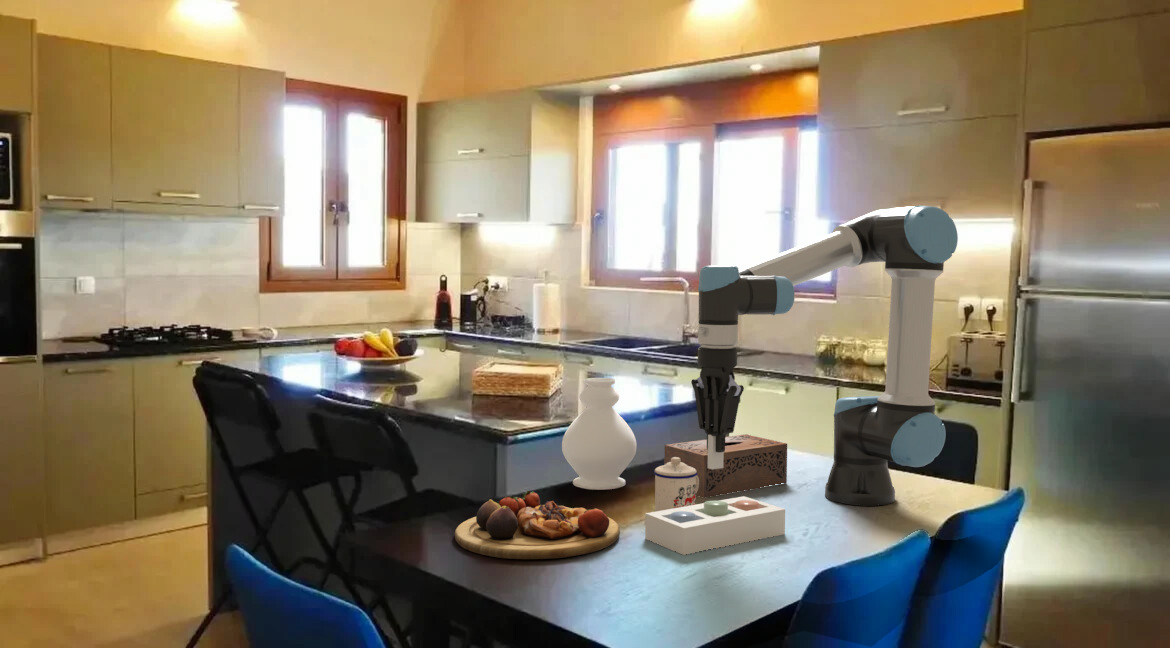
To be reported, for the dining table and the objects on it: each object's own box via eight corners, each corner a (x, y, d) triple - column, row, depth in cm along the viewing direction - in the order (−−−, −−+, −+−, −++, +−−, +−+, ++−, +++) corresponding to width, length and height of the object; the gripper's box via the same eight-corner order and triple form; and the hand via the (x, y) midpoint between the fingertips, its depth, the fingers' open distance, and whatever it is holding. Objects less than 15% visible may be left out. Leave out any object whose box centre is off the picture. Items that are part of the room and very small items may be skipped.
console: (743, 520, 199) (743, 496, 199) (784, 534, 189) (785, 509, 189) (645, 538, 186) (645, 513, 186) (683, 555, 176) (684, 528, 176)
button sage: (717, 519, 191) (717, 499, 190) (732, 524, 187) (732, 504, 187) (698, 522, 188) (699, 502, 188) (714, 528, 184) (714, 507, 184)
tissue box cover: (745, 473, 244) (746, 434, 243) (786, 484, 232) (787, 443, 231) (664, 486, 230) (664, 444, 229) (703, 499, 218) (703, 455, 217)
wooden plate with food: (654, 537, 188) (654, 495, 188) (531, 574, 165) (531, 526, 165) (543, 510, 211) (542, 473, 210) (421, 539, 188) (421, 497, 188)
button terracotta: (747, 518, 195) (748, 499, 195) (763, 523, 191) (763, 504, 191) (730, 522, 193) (730, 502, 192) (745, 527, 189) (746, 507, 188)
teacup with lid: (677, 520, 200) (678, 464, 199) (645, 511, 206) (645, 457, 205) (714, 509, 208) (714, 456, 207) (681, 501, 214) (681, 449, 214)
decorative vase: (649, 480, 234) (650, 378, 233) (611, 496, 219) (612, 386, 218) (587, 472, 244) (587, 373, 242) (547, 486, 229) (547, 381, 227)
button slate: (685, 530, 187) (685, 510, 186) (700, 536, 183) (700, 515, 182) (666, 534, 184) (666, 513, 184) (680, 540, 180) (681, 519, 180)
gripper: (681, 344, 189) (679, 463, 190) (724, 349, 178) (722, 476, 179) (710, 342, 193) (708, 459, 194) (755, 348, 182) (753, 472, 183)
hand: (715, 467), depth 187 cm, fingers closed
